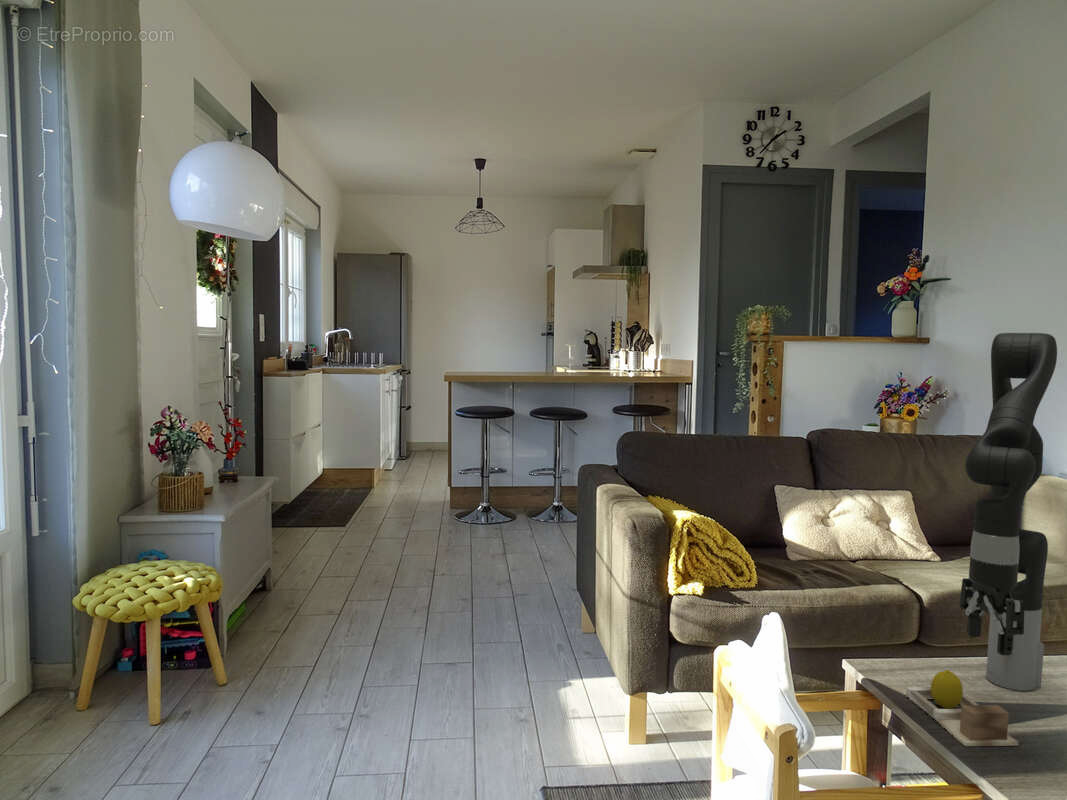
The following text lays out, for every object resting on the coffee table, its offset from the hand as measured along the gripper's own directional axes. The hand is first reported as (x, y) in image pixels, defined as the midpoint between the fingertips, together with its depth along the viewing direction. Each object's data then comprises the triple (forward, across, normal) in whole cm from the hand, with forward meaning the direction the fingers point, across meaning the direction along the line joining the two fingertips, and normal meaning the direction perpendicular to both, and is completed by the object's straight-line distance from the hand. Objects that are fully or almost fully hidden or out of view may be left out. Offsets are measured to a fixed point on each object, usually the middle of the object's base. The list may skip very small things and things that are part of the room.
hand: (988, 645), depth 140 cm
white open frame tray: (+18, +6, 0) cm, 19 cm away
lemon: (+18, +12, 0) cm, 21 cm away
